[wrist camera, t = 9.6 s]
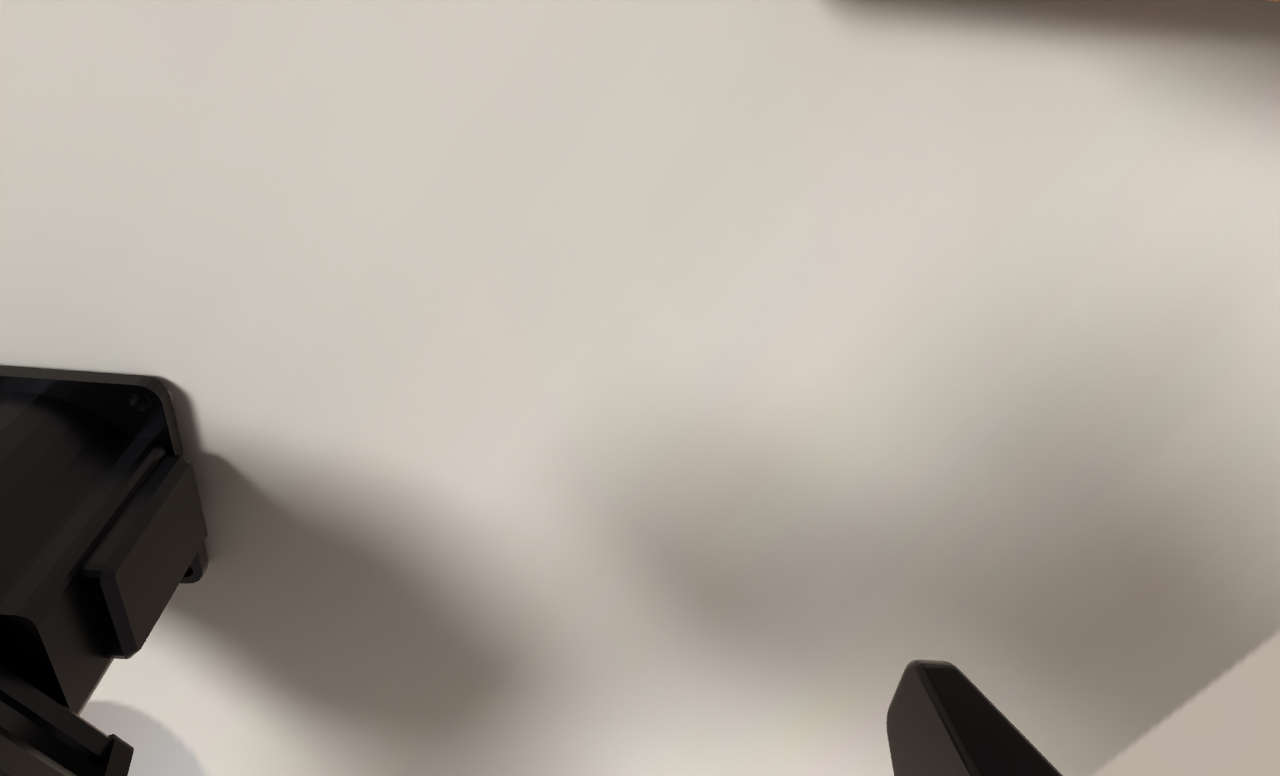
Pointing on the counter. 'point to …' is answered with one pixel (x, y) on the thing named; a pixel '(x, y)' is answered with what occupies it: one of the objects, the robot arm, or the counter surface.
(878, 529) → the counter surface
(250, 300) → the counter surface
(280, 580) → the counter surface
